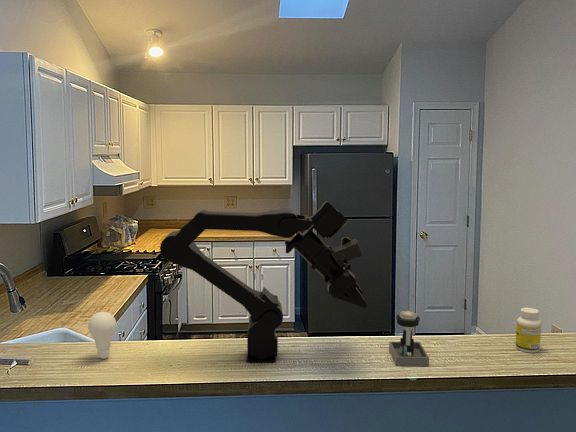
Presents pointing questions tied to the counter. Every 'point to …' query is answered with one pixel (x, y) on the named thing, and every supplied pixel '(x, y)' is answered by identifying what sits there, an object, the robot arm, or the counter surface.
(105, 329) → the lightbulb
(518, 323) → the supplement bottle
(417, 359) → the tray
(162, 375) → the counter surface
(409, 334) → the push button
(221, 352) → the counter surface
